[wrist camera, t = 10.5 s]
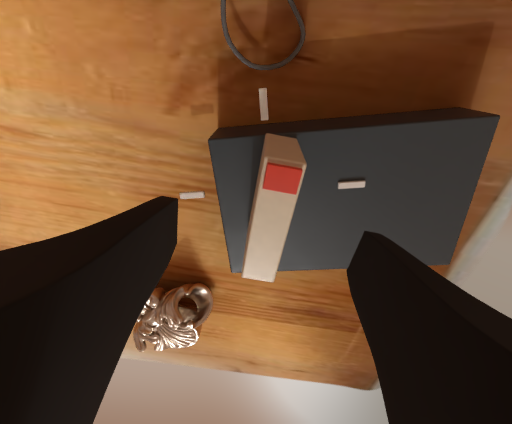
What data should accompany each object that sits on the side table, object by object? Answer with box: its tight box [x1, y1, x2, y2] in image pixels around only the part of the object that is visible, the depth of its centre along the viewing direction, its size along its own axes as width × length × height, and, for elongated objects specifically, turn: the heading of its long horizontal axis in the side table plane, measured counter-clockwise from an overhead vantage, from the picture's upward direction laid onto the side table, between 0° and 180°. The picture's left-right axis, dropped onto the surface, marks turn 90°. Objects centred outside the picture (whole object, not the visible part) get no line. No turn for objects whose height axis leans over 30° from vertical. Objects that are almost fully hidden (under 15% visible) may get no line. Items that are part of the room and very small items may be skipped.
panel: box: [179, 88, 500, 273], centre depth 16 cm, size 16×11×3 cm
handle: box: [241, 133, 307, 282], centre depth 12 cm, size 6×2×4 cm, turn 170°
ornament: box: [133, 283, 213, 352], centre depth 22 cm, size 8×7×4 cm
